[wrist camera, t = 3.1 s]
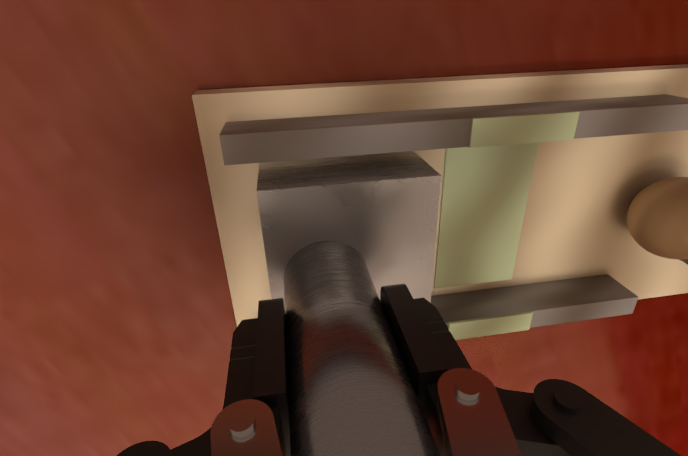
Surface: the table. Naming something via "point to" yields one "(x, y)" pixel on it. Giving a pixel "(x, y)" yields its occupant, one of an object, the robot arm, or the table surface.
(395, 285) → the robot arm
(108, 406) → the table surface
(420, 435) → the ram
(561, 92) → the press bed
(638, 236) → the walnut
